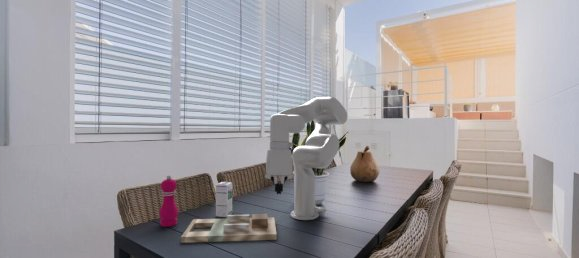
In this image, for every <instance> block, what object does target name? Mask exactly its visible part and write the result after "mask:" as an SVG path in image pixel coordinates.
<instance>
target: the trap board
mask: <svg viewBox="0 0 579 258" xmlns="http://www.w3.org/2000/svg"><path fill="white" fill-rule="evenodd" d="M276 229H277V228H276V221H275V217H272V216H271V217H269V216H268V228H253V229H252V217H251V214H231V215H227V217H226V218H195V219H192V221H191V222H190V223H189V225H188V226H187V228H186V229H185V231H184V232H183V234H182V235H181V236H180V243H181V244H182V243H185V244H186V243H212V242H241V241H242V242H243V241H244V242H245V241H271V240H272V241H273V240H275V241H276V240H277V230H276Z"/></svg>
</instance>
